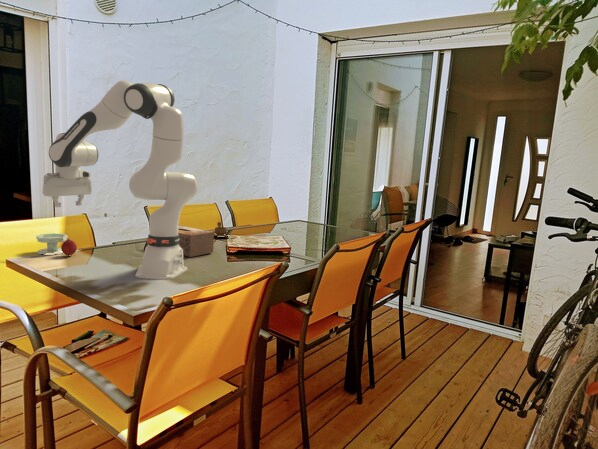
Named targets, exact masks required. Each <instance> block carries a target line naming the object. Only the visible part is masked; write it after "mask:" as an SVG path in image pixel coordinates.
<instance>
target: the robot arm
mask: <svg viewBox="0 0 598 449" xmlns="http://www.w3.org/2000/svg"><path fill="white" fill-rule="evenodd" d="M175 101H176V100H175V93H174V92H173V91H172V89H171V88H170V87H168V86H167V85H164V84H161V83H153V82H142V83H140V82H139V83H132V82H131V81H129V80H125V79H122V80H120V81H117V82H116V83H115V84H113V86H112V87H110V88H109V90H107V92H106V94H104V95H103V98H102V99H101V100H100V101H99V102H98V103H97V104H96V105H95V106H94V107H92V108H91V109H90V110H89V111H87V112H85V113H83V114H82V115H80V117H79V118H78V119H77V120H76V121H75V122H74V123H73V124H72V125H71V126H70V127H69V128H68V129H67V130H66V132H61V133H58V134H57V135H56V138H55V140H54V141H53V142H52V144H50V147H49V150H48V157H49V159H50V161H51V162H52V163H53V164H54V165H55V172H53V173H51V172H47V173H45V174H44V175H43V183H42V195H43V196H44V197H51V199H52V201H53V203H54V206H55V208H61V207H62V202H59V197H64V196H65V197H66V196H77V198H78V199H77V200H76V201H75V205H76V206H82V202H83V201H84V200H83V199H84V198H85V195H90V194H92V192H93V184H92V179H91V177H92V174H91V172H89V171H86V170H83V169H81V168H80V167H91V166H94V165H95V164H96V163H97V162H98V160H99V151H98V148H97V146H95V145H94V144H93V143H90V142H88V141H86V140H85V139H86V138H87V137H88V136H89V135H91V134H94V133H97V132H102V131H109V130H110V131H112V130H116V129H119V128H121V127H122V126H123V125H124V124H125V123H126V122H127V121H128V120H129V118H130V117H131V115H132V114H136V115H138V116H140V117H142V118H144V119H146V120H149V119H151V121H152V125H153V126H152V127H153V128H152V139H151V140H152V142H151V148H150V155H149V158H148V160H147V161H146V162H145V164H144V165H143V167H141V168H140V169H139V170H138V171H136V172H135V173H132V176H131V177H130V179H129V185H128V186H129V187H128V189H129V191H130V193H131V194H132V196H134V197H135V198H137V199H141V200H142V199H143V200H147V201H149V200H151V201H159V200H161V201H164V204H163V205H162V206H161V207H160V208H157V209H155V210H153V211H152V213H150V215H149V218H148V220H149V221H148V223H149V229H148V230H149V232H148V235H147V238H146V243H147V246H146V247H145V250H144V254H143V257H142V259H141V261H142V262H141V264H140V265H139V266H138V269H137V271H136V273H135V277H136V278H140V279H148V280H172V279H173V280H174V278H176V277H178V276H180V275H182V274H183V273H185V272H187V271H188V267H187V266H185V265H184V255H183V249H182V248H181V247H180V246H179V240H180V238H179V234H178V228H179V224H180V216H181V214H182V213H181V212H182V210H183V209H184V207H185V205H186V204H187V203H188V202H189V201H190V200H191V199H193V198H194V197H195V196H196V194H197V192H198V187H199V186H198V181H197V179H196V177H195V176H194V175H193V174H189V173H185V172H181V171H178V172H177V171H176V172H175V171H166V170H167V169H168V168H169V167H170V166H172V165H175V164H177V163H178V162H179V161H180V160H181V159H182V157H183V147H184V146H183V145H184V132H185V131H184V127H185V125H184V117H183V113H182V112H181V110H179V108H177V107H174V104H175Z"/></svg>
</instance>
